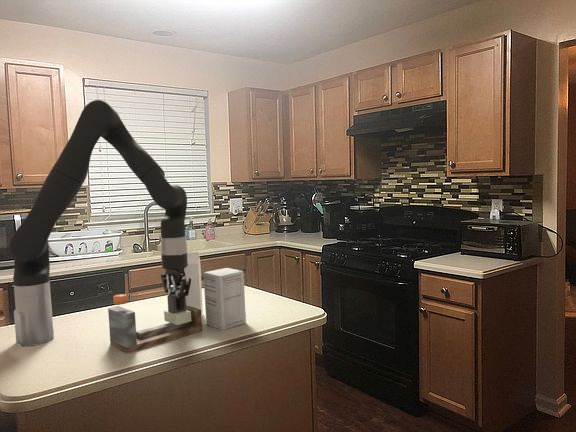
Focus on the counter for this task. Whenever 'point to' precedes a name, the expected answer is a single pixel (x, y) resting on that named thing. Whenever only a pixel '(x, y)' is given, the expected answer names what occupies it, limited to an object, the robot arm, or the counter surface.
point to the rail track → (167, 334)
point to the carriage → (176, 312)
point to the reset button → (120, 299)
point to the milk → (194, 281)
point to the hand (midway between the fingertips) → (177, 308)
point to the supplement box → (224, 298)
